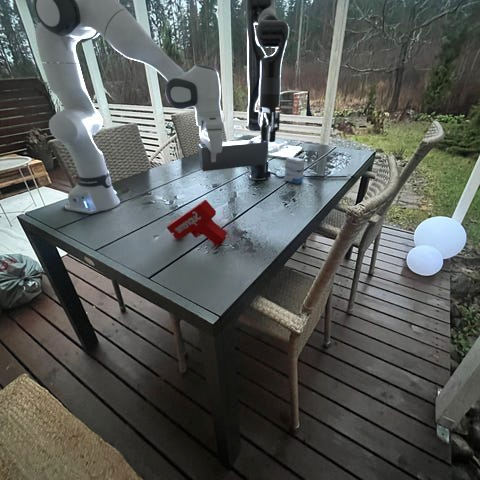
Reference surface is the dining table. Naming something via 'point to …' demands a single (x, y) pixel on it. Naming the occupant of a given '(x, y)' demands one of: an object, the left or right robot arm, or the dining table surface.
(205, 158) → the bar
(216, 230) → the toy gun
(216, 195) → the dining table surface
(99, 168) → the left robot arm
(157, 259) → the dining table surface
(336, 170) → the dining table surface
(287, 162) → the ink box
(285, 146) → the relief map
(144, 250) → the dining table surface
